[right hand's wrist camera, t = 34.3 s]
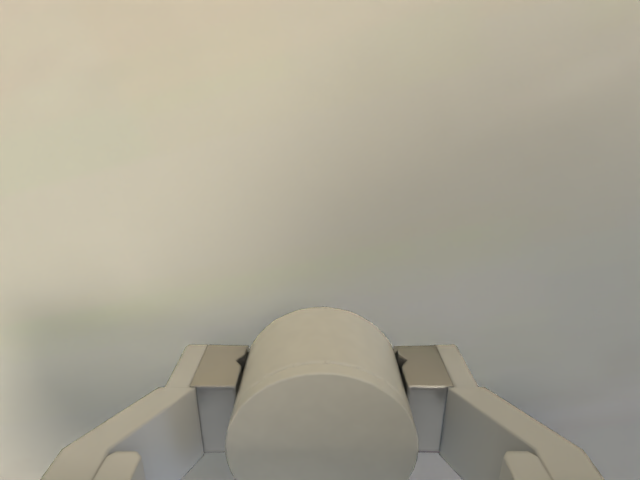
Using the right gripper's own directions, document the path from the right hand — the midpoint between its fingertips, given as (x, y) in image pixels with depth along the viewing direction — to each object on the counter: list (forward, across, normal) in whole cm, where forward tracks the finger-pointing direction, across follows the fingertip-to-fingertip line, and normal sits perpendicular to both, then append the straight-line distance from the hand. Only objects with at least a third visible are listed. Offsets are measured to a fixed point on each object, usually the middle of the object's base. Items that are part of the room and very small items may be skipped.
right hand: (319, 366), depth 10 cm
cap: (-2, 0, 0) cm, 2 cm away
